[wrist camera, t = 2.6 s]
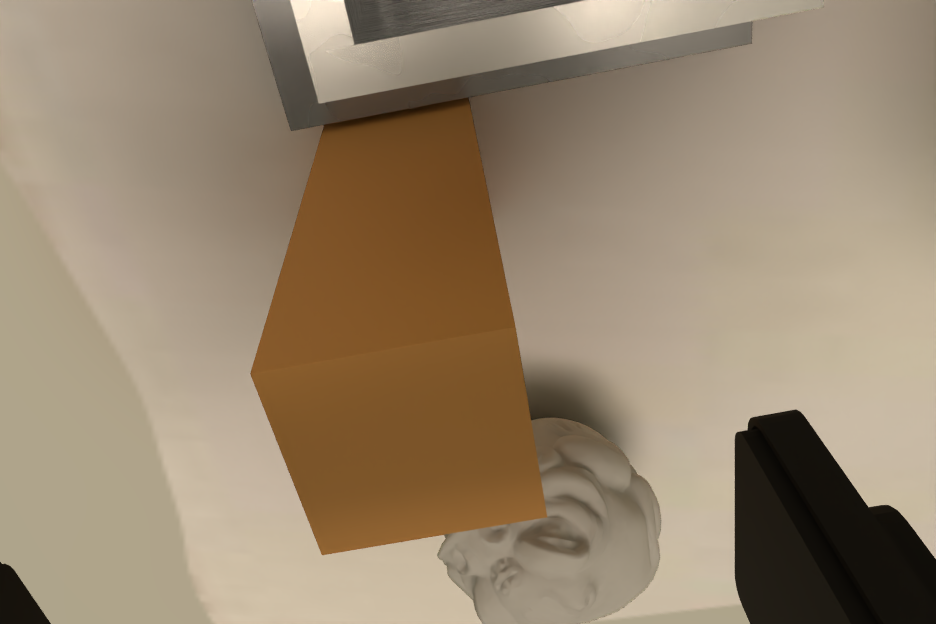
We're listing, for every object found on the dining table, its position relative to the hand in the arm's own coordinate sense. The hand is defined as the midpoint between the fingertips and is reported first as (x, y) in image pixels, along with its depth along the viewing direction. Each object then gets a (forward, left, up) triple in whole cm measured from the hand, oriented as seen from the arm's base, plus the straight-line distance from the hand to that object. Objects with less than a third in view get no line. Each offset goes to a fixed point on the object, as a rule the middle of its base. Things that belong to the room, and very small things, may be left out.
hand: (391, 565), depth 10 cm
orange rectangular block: (0, 0, -13) cm, 13 cm away
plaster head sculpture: (+10, +2, -13) cm, 16 cm away
